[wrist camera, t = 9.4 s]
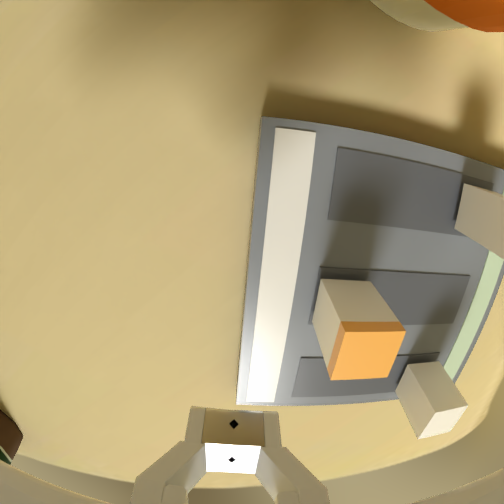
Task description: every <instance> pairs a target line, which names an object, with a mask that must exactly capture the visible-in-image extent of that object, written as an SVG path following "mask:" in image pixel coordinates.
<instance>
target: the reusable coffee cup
mask: <svg viewBox="0 0 504 504" xmlns="http://www.w3.org/2000/svg"><path fill="white" fill-rule="evenodd" d="M370 1H371V2H372V3H373V4H374V5H376V6H377V7H378V8H379V9H381V10H382V11H383V12H384V13H386V14H387V15H389V16H391V17H392V18H394V19H395V20H397V21H399V22H401V23H403V24H405V25H407V26H410V27H413V28H416V29H419V30H424V31H431V32H434V31H445V30H451V29H459V28H467V27H470V28H472V29H476V30H480V31H484V32H504V0H370Z"/></svg>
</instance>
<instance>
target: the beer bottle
mask: <svg viewBox="0 0 504 504" xmlns="http://www.w3.org/2000/svg"><path fill="white" fill-rule="evenodd" d="M22 439H23V435H22V433H21V432H20V430H19V429H18V427H17V426H16V424H15V422H13V421H12V420H11V419H10V418H9V417H8V416H6V415H5V414H4V413H3V412H2V411H1V410H0V460H1V461H3V462H5V463H7V464H9V465H10V464H11V462H12V460H13V458H14V456H15V454H16V452H17V450H18V448H19V446H20V443H21V441H22Z"/></svg>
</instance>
